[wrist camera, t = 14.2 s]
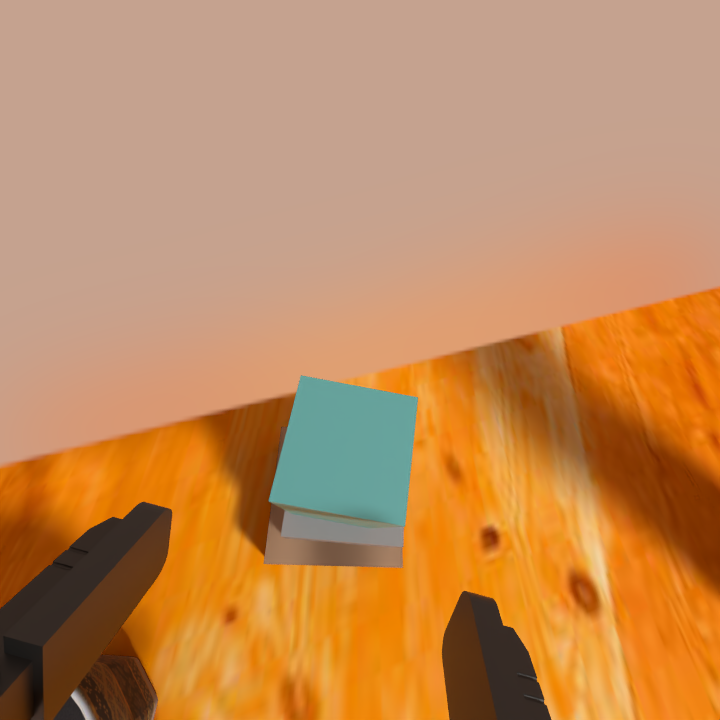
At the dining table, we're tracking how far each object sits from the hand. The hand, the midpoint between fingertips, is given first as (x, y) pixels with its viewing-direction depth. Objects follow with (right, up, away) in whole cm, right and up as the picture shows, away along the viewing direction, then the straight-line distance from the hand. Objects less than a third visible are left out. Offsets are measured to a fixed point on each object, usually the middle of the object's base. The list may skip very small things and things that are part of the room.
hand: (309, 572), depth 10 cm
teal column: (0, -2, +12) cm, 12 cm away
